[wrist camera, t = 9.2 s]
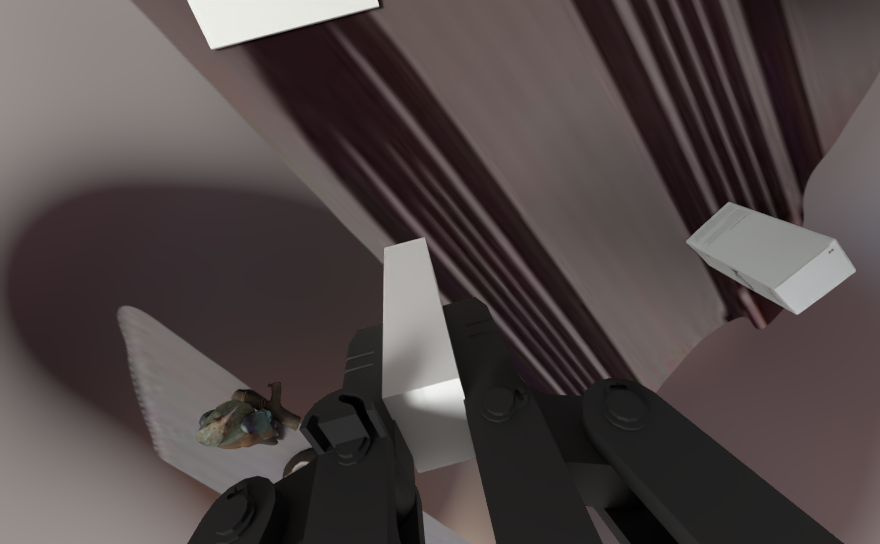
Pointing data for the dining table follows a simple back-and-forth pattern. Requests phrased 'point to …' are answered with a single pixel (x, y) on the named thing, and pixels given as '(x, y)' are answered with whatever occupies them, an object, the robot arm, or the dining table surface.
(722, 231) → the supplement box
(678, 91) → the dining table surface
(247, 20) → the rubber mat
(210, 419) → the bird figurine
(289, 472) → the donut
